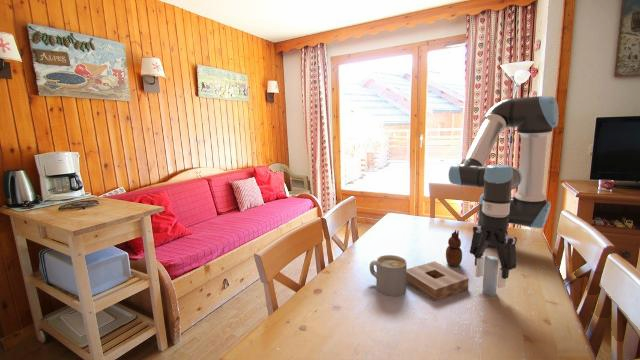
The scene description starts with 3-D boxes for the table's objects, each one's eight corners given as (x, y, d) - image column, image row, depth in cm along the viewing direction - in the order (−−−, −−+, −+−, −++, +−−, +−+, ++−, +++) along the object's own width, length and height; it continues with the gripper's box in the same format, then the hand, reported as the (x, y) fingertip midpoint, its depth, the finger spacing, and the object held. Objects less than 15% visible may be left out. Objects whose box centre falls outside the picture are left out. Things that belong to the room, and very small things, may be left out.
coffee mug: (412, 289, 106) (412, 262, 105) (392, 299, 101) (392, 270, 99) (382, 274, 117) (383, 249, 115) (363, 283, 111) (363, 256, 110)
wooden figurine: (463, 269, 120) (465, 231, 117) (447, 268, 121) (449, 231, 118) (459, 261, 126) (461, 226, 123) (444, 260, 127) (445, 225, 125)
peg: (487, 288, 106) (490, 255, 104) (498, 293, 102) (501, 259, 100) (479, 291, 104) (481, 257, 102) (490, 296, 101) (493, 262, 98)
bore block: (434, 271, 119) (434, 261, 118) (467, 289, 105) (468, 278, 105) (403, 280, 112) (403, 270, 112) (434, 301, 99) (435, 289, 98)
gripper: (460, 208, 106) (456, 271, 110) (519, 224, 88) (512, 299, 92) (475, 205, 109) (471, 266, 113) (535, 220, 91) (528, 292, 95)
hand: (489, 281), depth 102 cm, fingers open, 7 cm apart
